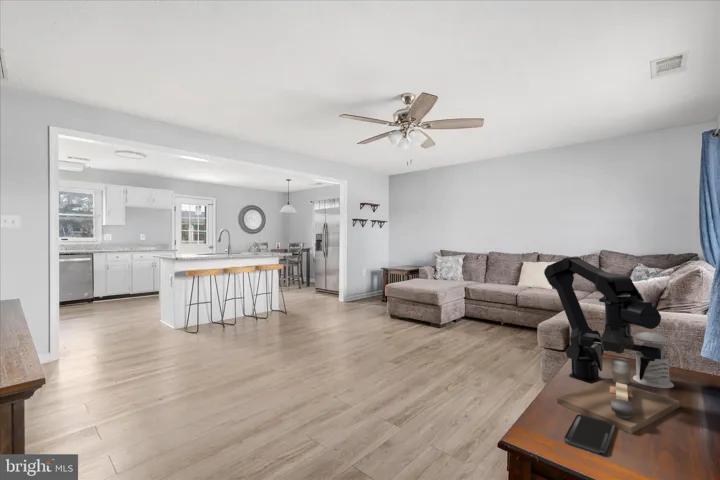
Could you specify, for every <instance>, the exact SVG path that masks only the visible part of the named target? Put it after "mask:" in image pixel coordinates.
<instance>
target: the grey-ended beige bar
mask: <svg viewBox="0 0 720 480" xmlns="http://www.w3.org/2000/svg"><path fill="white" fill-rule="evenodd" d="M630 367H631V366H630V360H629V359H626V358H622V357H612V358H611V371H612V372H611V374H612V377H611V378H612V379H611V380H613V381H614V382H616V399H612V400H611V409H612V410H613V411H614V412H616V413H618V414H622V415H628V416H630V415H634V405H633V404H632V403H631V402H629V401H628V393H627V385H630V384H631V370H630V369H631V368H630Z"/></svg>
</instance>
